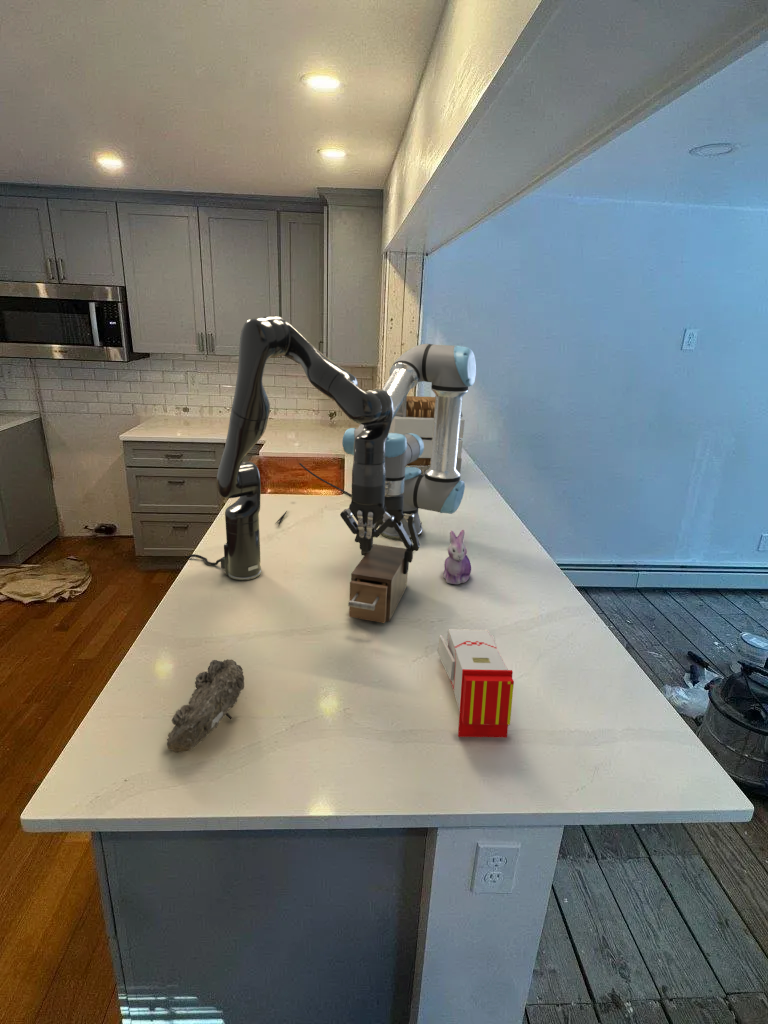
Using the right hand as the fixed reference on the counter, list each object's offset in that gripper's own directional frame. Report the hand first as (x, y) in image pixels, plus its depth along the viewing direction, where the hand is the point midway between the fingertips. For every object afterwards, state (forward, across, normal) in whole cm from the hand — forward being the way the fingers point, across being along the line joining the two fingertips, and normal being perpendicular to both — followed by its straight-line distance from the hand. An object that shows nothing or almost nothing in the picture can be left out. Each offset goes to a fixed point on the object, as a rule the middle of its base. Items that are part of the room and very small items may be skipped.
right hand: (386, 569), depth 157 cm
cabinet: (+7, 0, -5) cm, 9 cm away
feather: (+7, -51, +47) cm, 69 cm away
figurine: (+7, +18, +15) cm, 24 cm away
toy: (+7, +28, -37) cm, 47 cm away
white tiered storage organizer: (+7, -15, +123) cm, 124 cm away
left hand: (-14, 0, -21) cm, 25 cm away
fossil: (+7, -18, -60) cm, 63 cm away
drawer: (+6, 0, -12) cm, 13 cm away
